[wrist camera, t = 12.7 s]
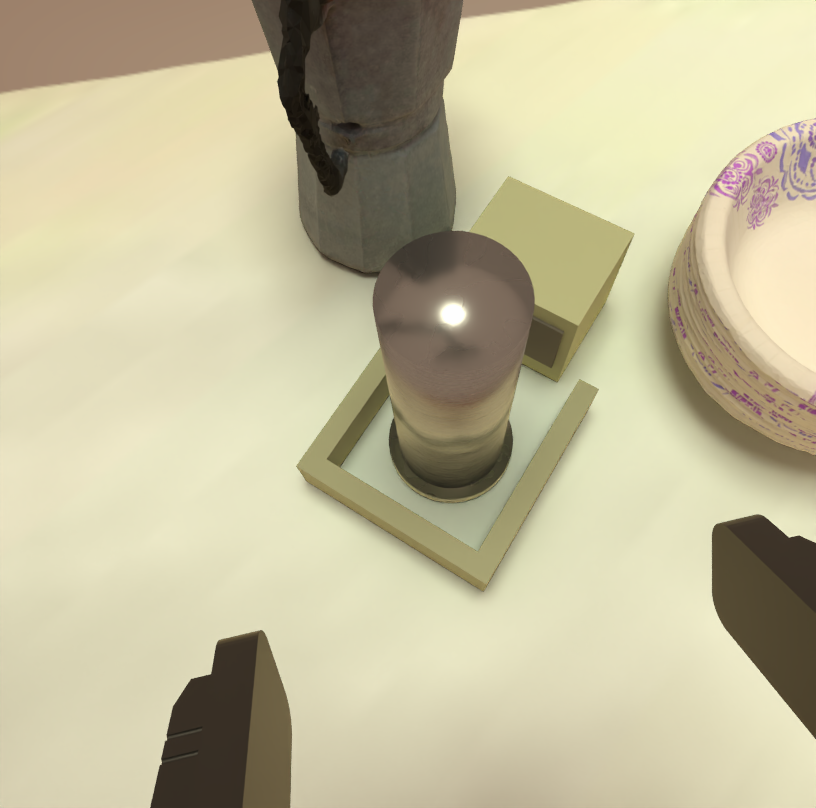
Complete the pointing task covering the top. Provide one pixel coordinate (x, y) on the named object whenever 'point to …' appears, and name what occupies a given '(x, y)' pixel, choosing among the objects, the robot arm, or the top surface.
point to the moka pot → (367, 119)
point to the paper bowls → (755, 288)
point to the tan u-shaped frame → (545, 353)
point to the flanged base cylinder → (452, 359)
